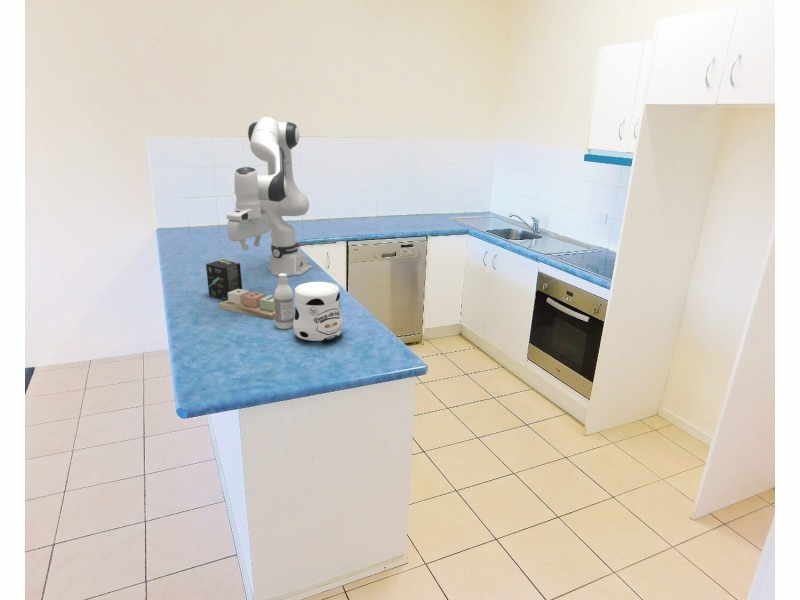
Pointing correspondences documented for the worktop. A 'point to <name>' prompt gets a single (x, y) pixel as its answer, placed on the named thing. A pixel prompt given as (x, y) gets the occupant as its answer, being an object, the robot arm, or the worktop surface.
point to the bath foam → (284, 304)
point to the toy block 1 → (237, 296)
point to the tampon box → (223, 278)
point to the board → (247, 310)
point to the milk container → (317, 312)
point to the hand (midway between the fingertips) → (251, 248)
